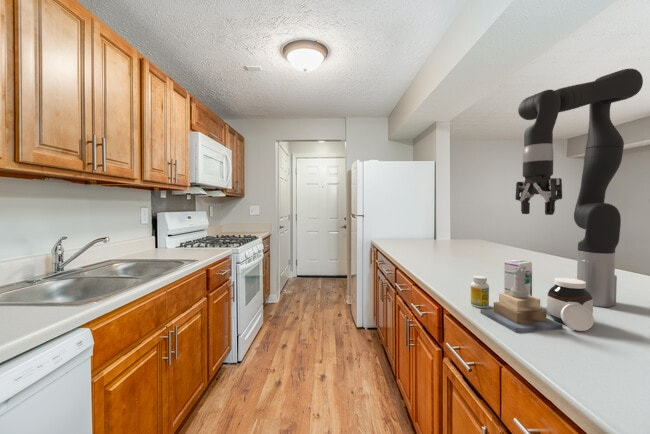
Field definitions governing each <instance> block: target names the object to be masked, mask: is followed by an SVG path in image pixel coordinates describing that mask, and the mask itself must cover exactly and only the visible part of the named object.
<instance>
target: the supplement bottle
mask: <svg viewBox="0 0 650 434" xmlns="http://www.w3.org/2000/svg"><path fill="white" fill-rule="evenodd" d="M487 280H488V279H487V277H486V276H483V275H473V276H472V282H471V284H470V305H471V306H472V307H474V308H478V309H487V308H489V305H490V285H489V284H488V283H487Z"/></svg>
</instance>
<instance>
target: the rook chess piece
mask: <svg viewBox="0 0 650 434" xmlns="http://www.w3.org/2000/svg"><path fill="white" fill-rule="evenodd" d="M513 272H514V274H515V276H514V285H513V286H512V288H511V293H510V294H511V296H513V297H517V298H527V297H528V291H527V290H526V287H525V282H524V279H525V277H524V275H525V274H526V271H525V269H524V268H522V269H520V268H518V269H517V268H514V270H513Z"/></svg>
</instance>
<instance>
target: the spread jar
mask: <svg viewBox="0 0 650 434" xmlns="http://www.w3.org/2000/svg"><path fill="white" fill-rule="evenodd" d="M585 288H586V282H585V281H582V280H578V279H577V278H573V277H572V278H571V277H555V278H554V285H553V286H551V288H550V289H549V290H548V292H547V297H546V298H547V299H546V311H547V314H548V315H549V317H551V319H553V320H554V321H555V322H557V323H560V324H562V325H565V326H566V327H568V328H569V329H570V330H574V331H579V332H584V331H588V330H589V329H591V328H592V327H593V325H594V324H595V319H594V314H593V313H594V305H593V298H592V295H591V294H590V292H589V291H587V290H586V289H585Z"/></svg>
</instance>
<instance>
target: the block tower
mask: <svg viewBox="0 0 650 434" xmlns="http://www.w3.org/2000/svg"><path fill="white" fill-rule="evenodd" d="M547 313H548V311H547V310H546V309H543V308H541V299H540V298H538V297H536V296H533V295H532V296H530V295H528V297H527V298H517V297H513V296H511V294H510V293H504V292H499V293H498V301H494V302H493V308H488V309H487V308H484V309H480V314H481V315H483V316H485V317H487V318H489V319H490V320H492V321H494V322H496V323H498V324H500V325H501V326H503V327H505V328H507V329H509V330H510V331H512V332H514V333H524V332H534V331H547V330H548V331H549V330H561V329H563V328H564V327H563V326H564V324H563V323H560V322H558V321H556V320H554V319H553V320H552V319H550V318H548V317H547Z"/></svg>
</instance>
